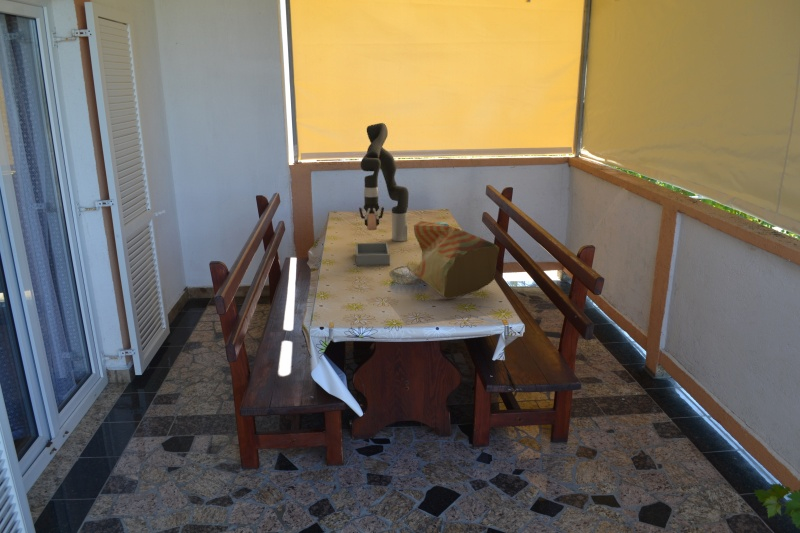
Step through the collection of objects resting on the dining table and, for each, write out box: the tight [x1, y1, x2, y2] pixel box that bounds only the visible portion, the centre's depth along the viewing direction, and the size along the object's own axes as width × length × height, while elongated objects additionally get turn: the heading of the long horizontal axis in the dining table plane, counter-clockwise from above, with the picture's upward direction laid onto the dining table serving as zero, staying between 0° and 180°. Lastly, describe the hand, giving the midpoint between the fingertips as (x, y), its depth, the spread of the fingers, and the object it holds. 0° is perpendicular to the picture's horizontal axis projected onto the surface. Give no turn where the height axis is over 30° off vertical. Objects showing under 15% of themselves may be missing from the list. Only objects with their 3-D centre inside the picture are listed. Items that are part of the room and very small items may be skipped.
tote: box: [355, 242, 391, 267], centre depth 354 cm, size 18×24×6 cm
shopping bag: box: [405, 220, 500, 300], centre depth 305 cm, size 36×32×40 cm
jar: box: [366, 213, 378, 231], centre depth 349 cm, size 5×5×9 cm
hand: (371, 225), depth 349 cm, fingers closed on jar, 5 cm apart
